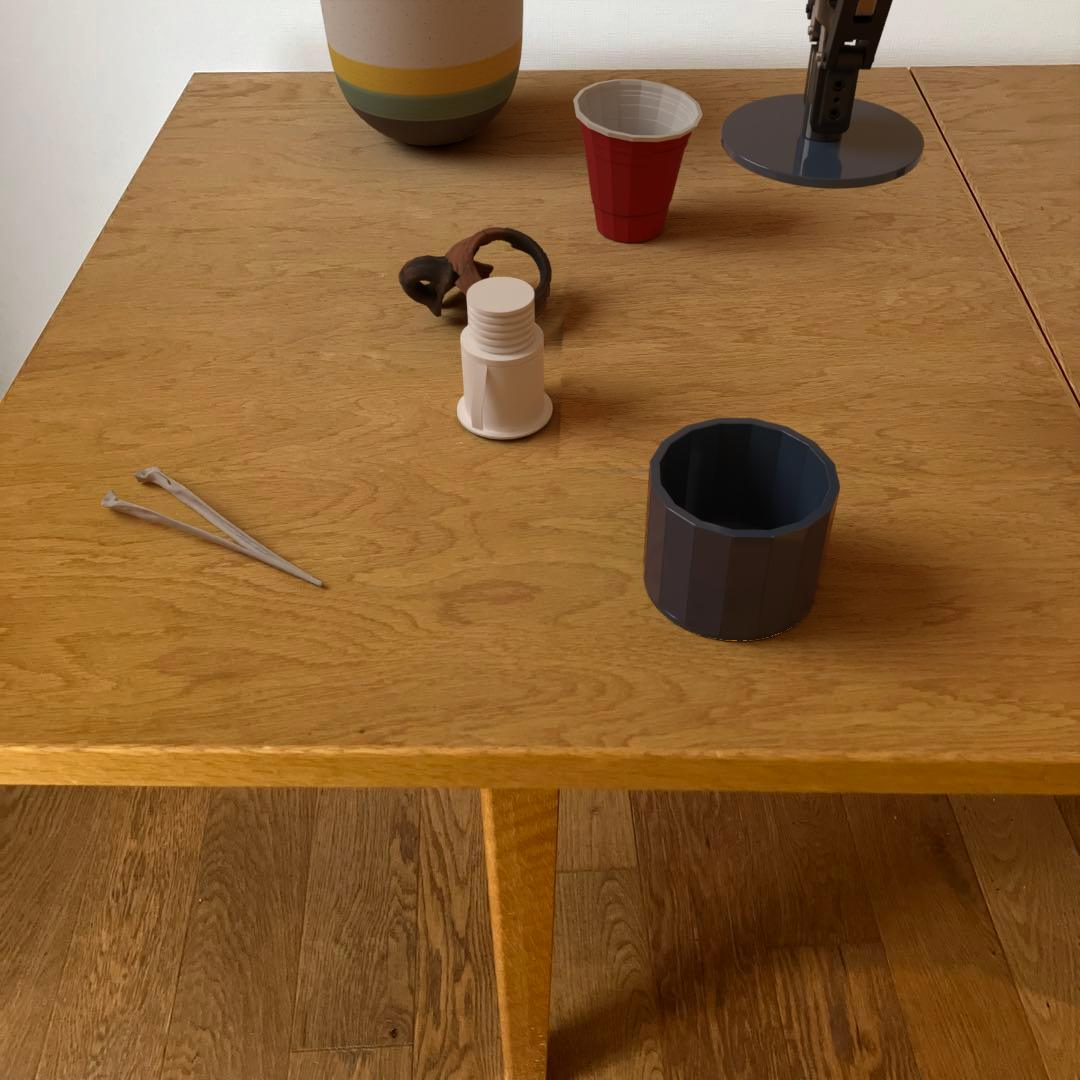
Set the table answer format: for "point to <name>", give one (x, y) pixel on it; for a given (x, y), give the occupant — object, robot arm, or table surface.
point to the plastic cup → (634, 152)
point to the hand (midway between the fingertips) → (824, 118)
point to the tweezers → (210, 514)
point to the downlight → (502, 362)
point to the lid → (821, 142)
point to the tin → (737, 527)
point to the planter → (425, 63)
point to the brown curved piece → (469, 269)
